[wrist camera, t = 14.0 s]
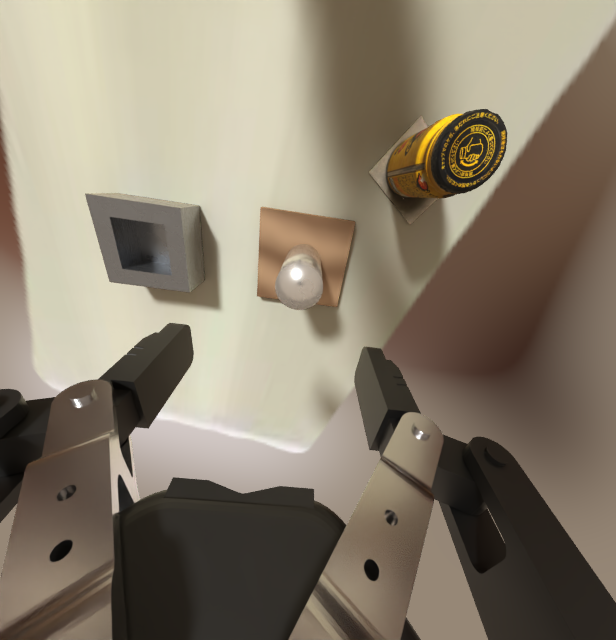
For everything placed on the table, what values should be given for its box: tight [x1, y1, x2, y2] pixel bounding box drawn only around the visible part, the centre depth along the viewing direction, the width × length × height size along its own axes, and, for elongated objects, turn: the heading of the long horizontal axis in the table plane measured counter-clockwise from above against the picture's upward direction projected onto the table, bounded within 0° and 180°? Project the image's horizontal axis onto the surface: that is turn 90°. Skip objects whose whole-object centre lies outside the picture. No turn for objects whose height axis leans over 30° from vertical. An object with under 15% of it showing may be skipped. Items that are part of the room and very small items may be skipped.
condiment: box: [369, 109, 507, 225], centre depth 23 cm, size 7×8×12 cm
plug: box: [275, 244, 323, 310], centre depth 28 cm, size 5×5×10 cm
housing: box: [85, 193, 205, 292], centre depth 30 cm, size 10×10×5 cm
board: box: [257, 207, 356, 307], centre depth 33 cm, size 12×12×1 cm
